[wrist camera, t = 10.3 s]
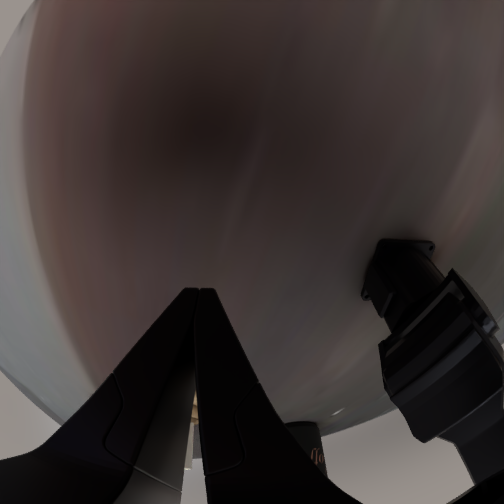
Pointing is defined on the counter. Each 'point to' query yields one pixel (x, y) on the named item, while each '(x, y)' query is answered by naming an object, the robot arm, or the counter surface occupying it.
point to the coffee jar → (309, 441)
